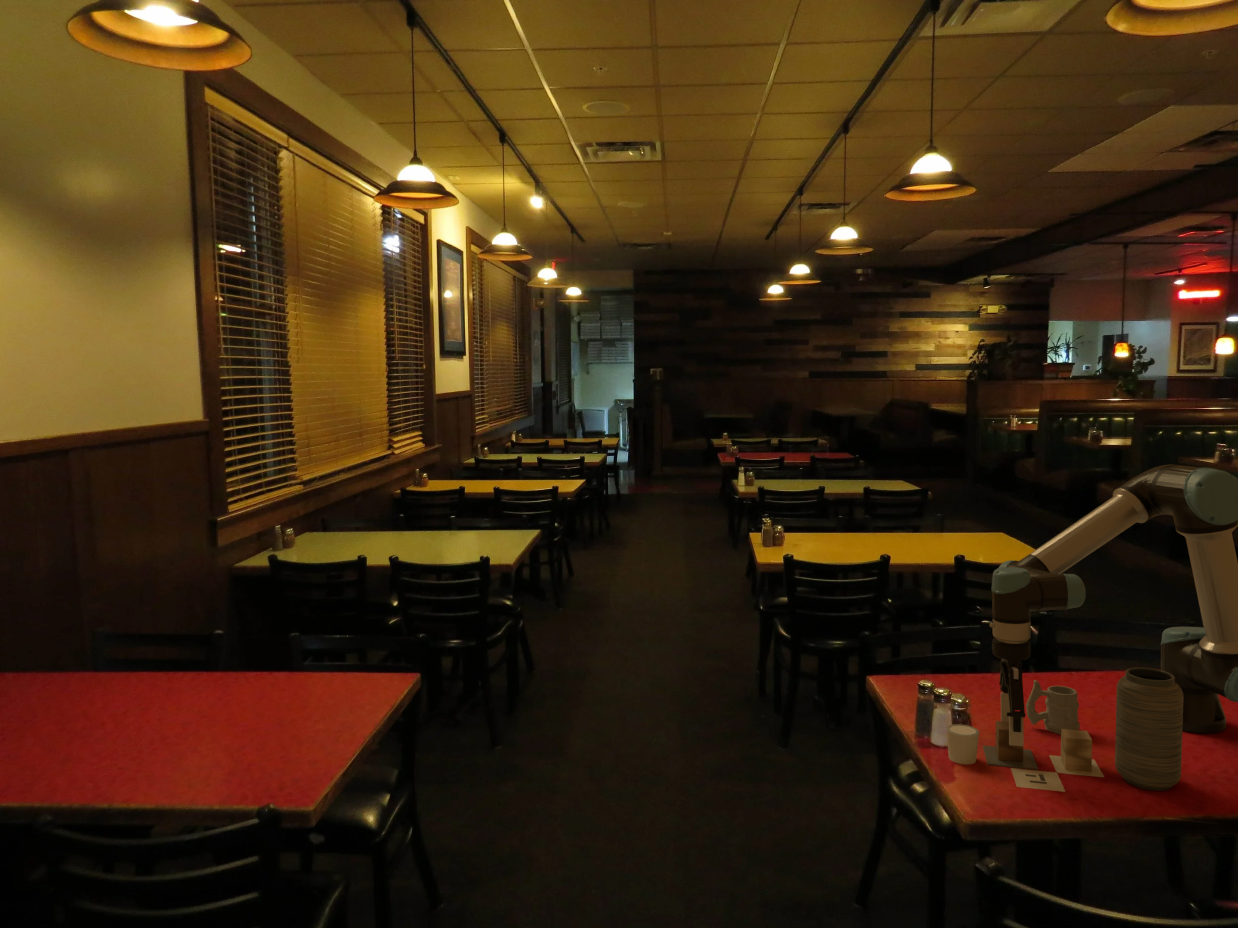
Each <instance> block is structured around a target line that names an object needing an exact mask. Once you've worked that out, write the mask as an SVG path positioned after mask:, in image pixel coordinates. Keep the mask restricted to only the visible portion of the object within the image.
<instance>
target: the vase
mask: <svg viewBox="0 0 1238 928" xmlns="http://www.w3.org/2000/svg"><path fill="white" fill-rule="evenodd" d="M1115 702H1116V703H1115V742H1114V743H1115V745H1114V746H1115V747H1114V748H1115V749H1114V750H1115V754H1114V766H1115V769H1116V771H1117V772H1118V774H1119V775H1120V776H1121V777H1122V779H1123V780H1124V781H1125V782H1126V783H1128V784H1129V785H1131V786H1134V787H1136V788H1140V789H1144V790H1149V791H1159V792H1160V791H1161V792H1162V791H1167V790H1170V789H1172V788H1173V787H1174V786H1175V785H1177V784H1178V783H1179V781H1180V780H1181V778H1182V758H1183V757H1182V755H1183V753H1182V752H1183V751H1182V750H1183V730H1182V726H1183V691H1182V689H1181V688H1180V686H1179V685H1178V684H1177V683H1175V677H1174V676H1173V675H1172V674H1170V673H1168V672H1165V671H1162V670H1161V669H1156V668H1152V667H1130V668H1127V669H1126V670H1125V673H1124V676H1122V677H1120V679H1119V680H1118V682H1117V684H1116V701H1115Z"/></svg>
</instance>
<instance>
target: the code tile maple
mask: <svg viewBox="0 0 1238 928" xmlns="http://www.w3.org/2000/svg"><path fill="white" fill-rule="evenodd" d="M1048 756H1049V758H1050V760H1051V762H1052V765H1053V767H1054V769H1055V772H1056V773H1057V774H1065V775H1066V774H1067V775H1075V776H1084V777H1085V776H1087V777H1096V778H1097V777H1098V778H1105V775H1104V774H1103V772H1102V771H1101V769H1100V767H1099V766H1098V764H1097V762H1096V760H1095V759H1093V758H1092V772H1086V771H1076V770H1065V768H1064V766H1063V763H1062V761H1061V755H1060V756H1059V755H1048Z"/></svg>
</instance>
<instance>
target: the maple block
mask: <svg viewBox="0 0 1238 928" xmlns="http://www.w3.org/2000/svg"><path fill="white" fill-rule="evenodd" d="M1060 756H1061V761H1062V763H1063V766H1064V768H1065V770H1076V771H1086V772H1092V759H1093V739H1092V737H1091V736H1090V734H1089V732H1088V731H1087V730H1080V729H1078V730H1069V729H1061V734H1060Z"/></svg>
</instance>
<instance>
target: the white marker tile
mask: <svg viewBox="0 0 1238 928" xmlns="http://www.w3.org/2000/svg"><path fill="white" fill-rule="evenodd" d="M1010 770H1011V774H1012V776H1013V779H1014V782H1015V786H1016V788H1022V789H1023V788H1024V789H1025V788H1026V789H1035V790H1036V789H1037V790H1044V791H1055V792H1063V793H1065V792H1066V790H1065V788H1064V785H1063V783H1062V780H1061V777H1059V775H1058V774H1059V773H1057V772H1056V771H1054V772H1053V771H1044V770H1043V771H1042V770H1033V769H1023V768H1013V767H1010Z"/></svg>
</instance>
